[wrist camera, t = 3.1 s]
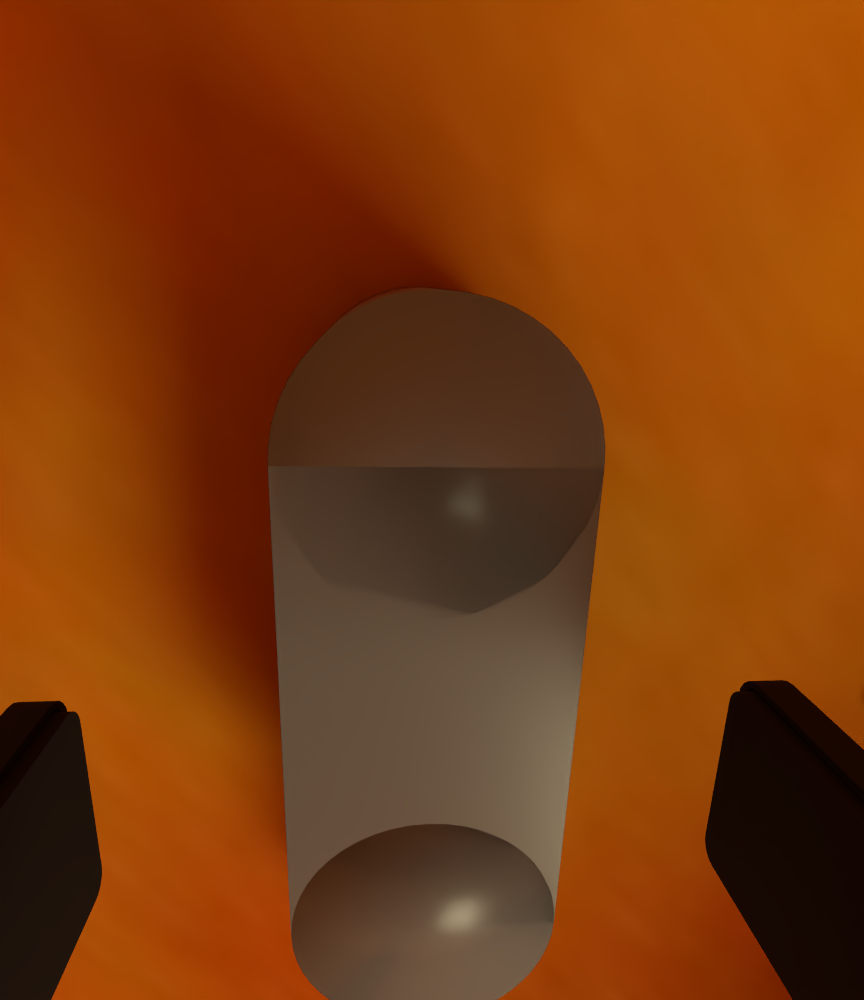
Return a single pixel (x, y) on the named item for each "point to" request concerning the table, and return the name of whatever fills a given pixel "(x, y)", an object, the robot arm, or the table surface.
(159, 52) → the table surface
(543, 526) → the dongle
